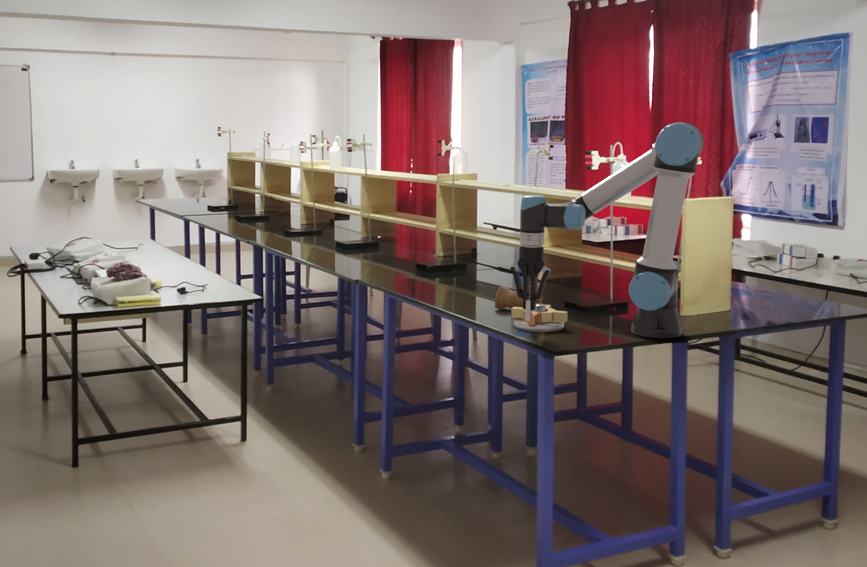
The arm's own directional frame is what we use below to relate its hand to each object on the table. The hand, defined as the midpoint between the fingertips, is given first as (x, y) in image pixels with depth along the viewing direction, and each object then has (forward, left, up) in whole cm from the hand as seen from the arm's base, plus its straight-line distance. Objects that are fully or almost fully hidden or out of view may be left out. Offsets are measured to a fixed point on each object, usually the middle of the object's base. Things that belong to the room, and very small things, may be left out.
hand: (528, 320), depth 266 cm
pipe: (+23, -20, -4) cm, 31 cm away
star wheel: (+2, -8, -1) cm, 8 cm away
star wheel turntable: (+2, -8, -4) cm, 9 cm away
